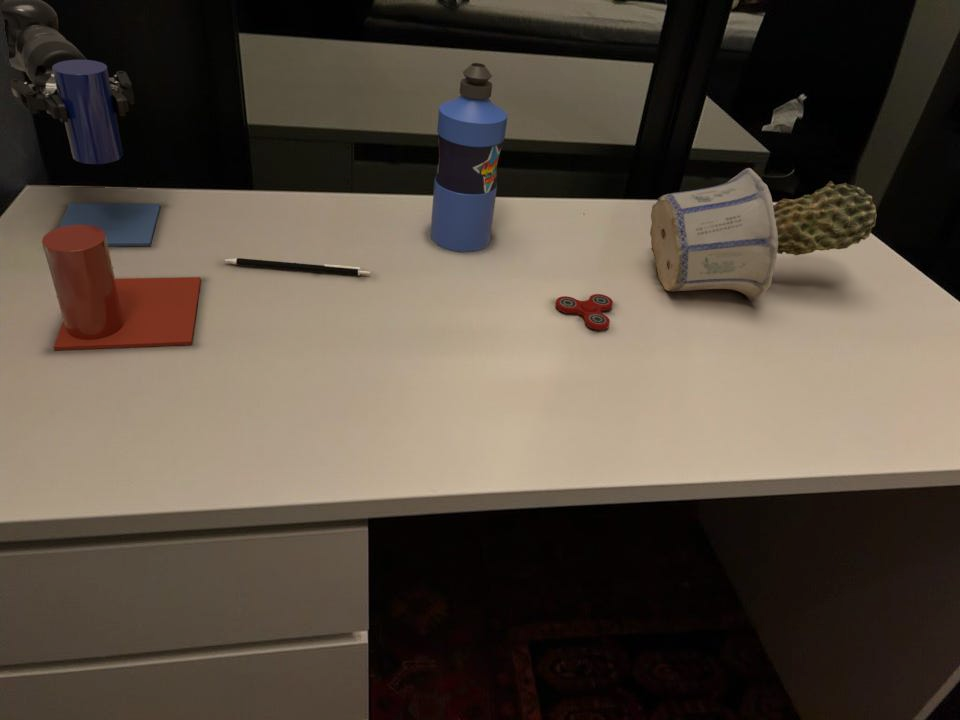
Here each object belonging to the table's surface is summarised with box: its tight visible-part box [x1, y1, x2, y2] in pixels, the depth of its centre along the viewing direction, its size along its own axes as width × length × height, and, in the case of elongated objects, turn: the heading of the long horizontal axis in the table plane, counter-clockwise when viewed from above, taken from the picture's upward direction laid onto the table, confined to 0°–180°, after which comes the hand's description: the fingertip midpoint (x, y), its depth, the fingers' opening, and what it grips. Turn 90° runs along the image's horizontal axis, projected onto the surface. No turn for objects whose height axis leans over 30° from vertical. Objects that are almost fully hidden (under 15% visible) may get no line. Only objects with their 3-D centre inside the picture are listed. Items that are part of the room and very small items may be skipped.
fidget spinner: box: [555, 293, 614, 331], centre depth 97 cm, size 8×7×1 cm
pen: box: [223, 257, 371, 276], centre depth 98 cm, size 1×19×1 cm, turn 91°
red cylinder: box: [41, 225, 124, 340], centre depth 80 cm, size 6×6×11 cm
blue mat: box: [57, 202, 161, 248], centre depth 102 cm, size 12×12×1 cm
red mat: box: [53, 276, 202, 351], centre depth 87 cm, size 14×14×1 cm
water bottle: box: [429, 62, 508, 253], centre depth 103 cm, size 9×9×25 cm
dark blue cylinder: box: [52, 59, 124, 165], centre depth 91 cm, size 6×6×11 cm
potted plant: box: [649, 167, 878, 300], centre depth 102 cm, size 18×18×30 cm
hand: (92, 111), depth 89 cm, fingers closed on dark blue cylinder, 6 cm apart
